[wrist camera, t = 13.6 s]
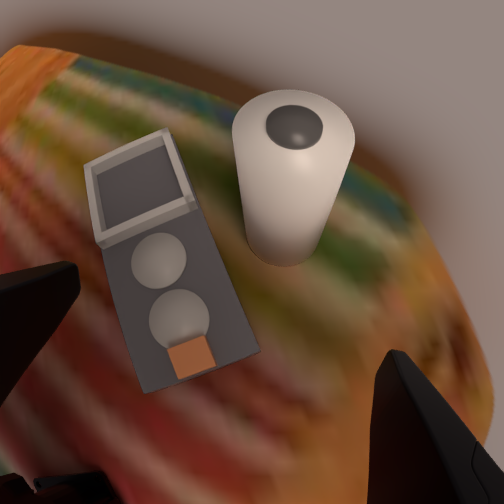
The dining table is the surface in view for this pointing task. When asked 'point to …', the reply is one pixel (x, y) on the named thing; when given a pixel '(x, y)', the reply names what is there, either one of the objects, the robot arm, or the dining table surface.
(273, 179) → the cream cylinder
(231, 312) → the power strip
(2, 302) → the robot arm
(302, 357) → the dining table surface
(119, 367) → the dining table surface
